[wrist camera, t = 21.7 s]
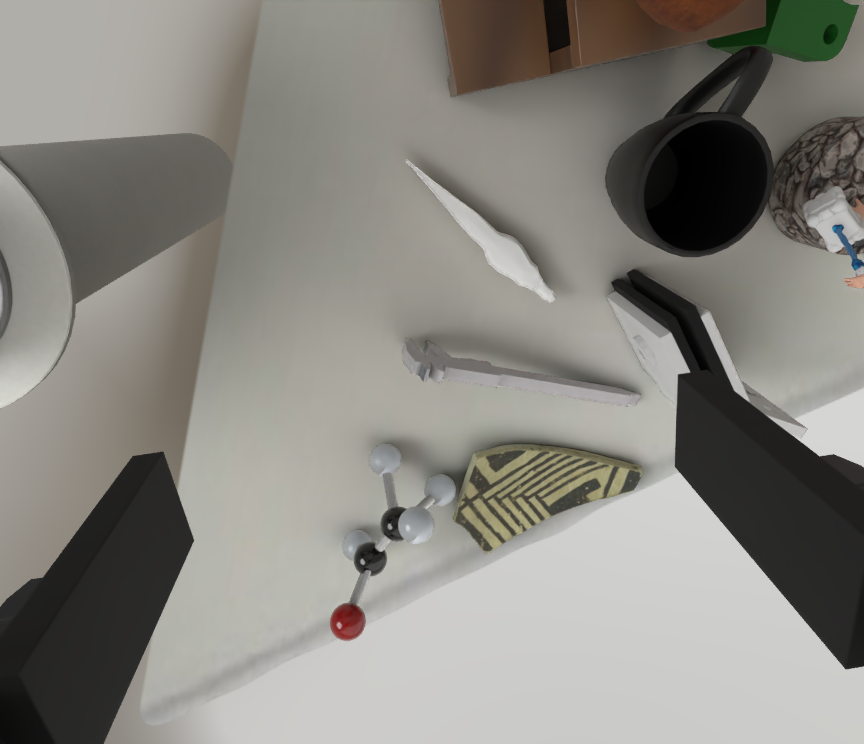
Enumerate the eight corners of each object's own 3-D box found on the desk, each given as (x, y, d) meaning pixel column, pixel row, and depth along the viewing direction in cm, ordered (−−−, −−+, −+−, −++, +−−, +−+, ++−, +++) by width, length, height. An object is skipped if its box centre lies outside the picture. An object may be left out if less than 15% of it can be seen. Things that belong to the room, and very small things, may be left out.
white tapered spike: (561, 283, 47) (568, 289, 45) (537, 308, 48) (543, 315, 46) (417, 143, 42) (419, 144, 41) (392, 173, 43) (392, 175, 41)
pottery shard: (458, 439, 51) (463, 451, 49) (639, 442, 54) (650, 452, 52) (446, 546, 55) (450, 561, 53) (616, 543, 58) (625, 557, 56)
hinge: (733, 374, 51) (810, 432, 42) (682, 416, 52) (746, 481, 43) (636, 259, 47) (698, 295, 37) (582, 307, 48) (629, 354, 39)
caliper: (401, 347, 48) (403, 378, 42) (404, 335, 48) (408, 364, 42) (634, 402, 52) (666, 438, 46) (639, 391, 51) (672, 425, 46)
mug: (747, 88, 43) (842, 79, 34) (661, 247, 47) (726, 277, 38) (647, 36, 41) (720, 14, 32) (567, 207, 45) (612, 228, 36)
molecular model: (460, 477, 53) (478, 558, 43) (384, 572, 56) (385, 667, 46) (380, 432, 51) (379, 507, 41) (306, 533, 54) (289, 626, 44)
